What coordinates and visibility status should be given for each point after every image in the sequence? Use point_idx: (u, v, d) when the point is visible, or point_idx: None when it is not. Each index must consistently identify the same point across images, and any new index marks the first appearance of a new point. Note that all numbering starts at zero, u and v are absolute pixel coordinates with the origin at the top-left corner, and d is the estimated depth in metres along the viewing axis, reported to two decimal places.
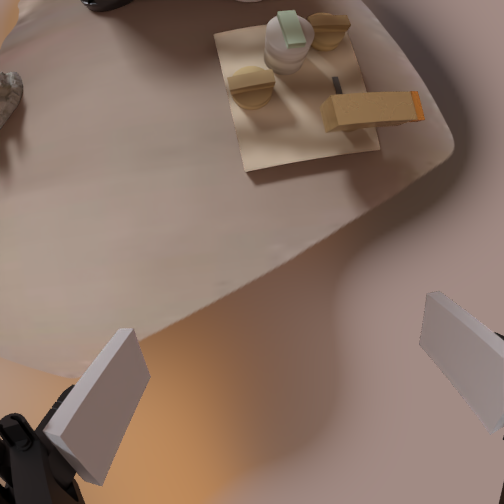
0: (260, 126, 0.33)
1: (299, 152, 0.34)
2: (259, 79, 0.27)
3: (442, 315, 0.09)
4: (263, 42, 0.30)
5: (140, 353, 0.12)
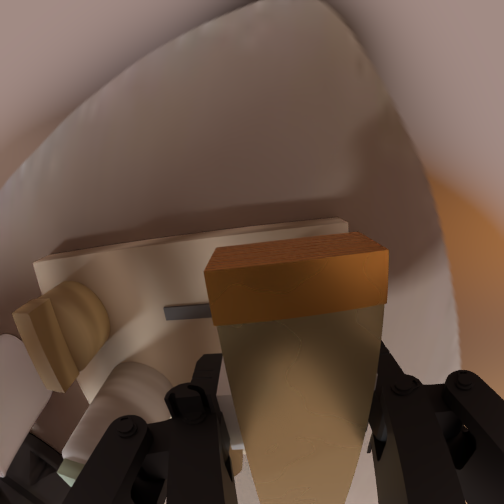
0: None
1: None
2: None
3: None
4: None
5: None
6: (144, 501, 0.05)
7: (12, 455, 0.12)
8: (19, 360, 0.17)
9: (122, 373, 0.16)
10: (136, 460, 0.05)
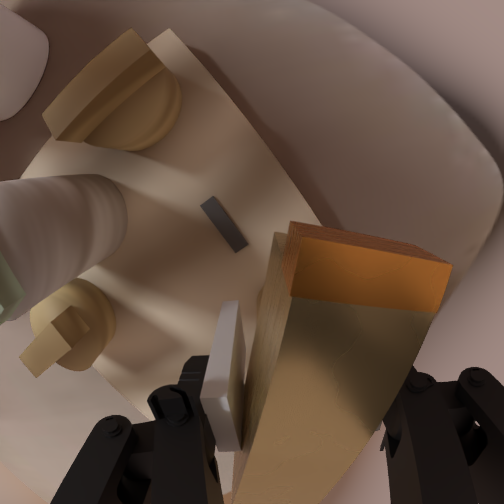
0: (131, 367, 0.17)
1: None
2: (50, 351, 0.11)
3: None
4: None
5: None
6: (131, 500, 0.05)
7: None
8: (28, 64, 0.11)
9: (105, 189, 0.13)
10: (121, 459, 0.05)
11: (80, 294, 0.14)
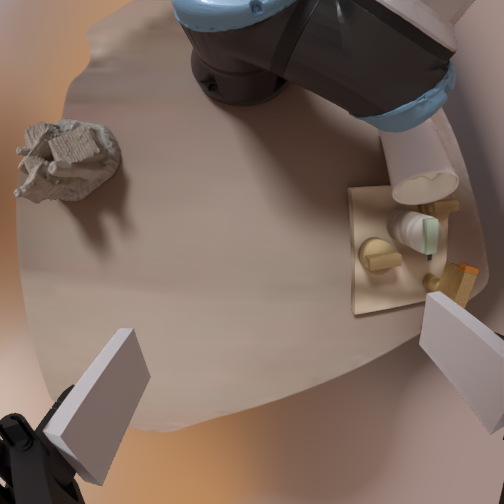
0: (372, 282, 0.42)
1: (393, 301, 0.43)
2: (391, 263, 0.36)
3: (442, 315, 0.10)
4: (389, 206, 0.39)
5: (140, 353, 0.12)
6: None
7: None
8: None
9: None
10: None
11: None
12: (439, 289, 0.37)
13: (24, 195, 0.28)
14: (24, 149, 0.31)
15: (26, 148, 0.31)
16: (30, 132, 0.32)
